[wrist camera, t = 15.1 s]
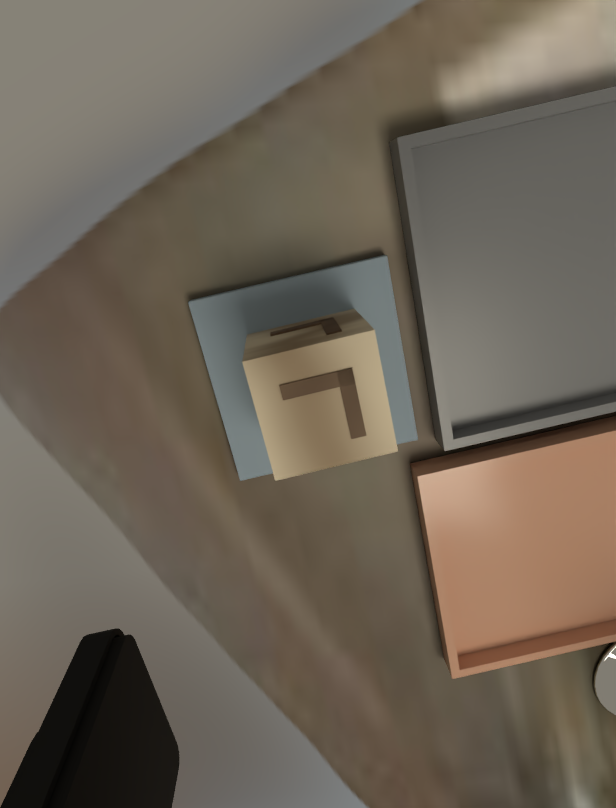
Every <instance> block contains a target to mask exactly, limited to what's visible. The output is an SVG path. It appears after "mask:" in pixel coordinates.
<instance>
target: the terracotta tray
mask: <svg viewBox="0 0 616 808" xmlns="http://www.w3.org/2000/svg"><path fill="white" fill-rule="evenodd" d="M410 467H411V473H412V479H413V484H414V490H415V496H416V502H417V507H418V513H419V519H420V524H421V530H422V536H423V541H424V547H425V553H426V558H427V564H428V570H429V575H430V581H431V587H432V592H433V598H434V604H435V609H436V615H437V621H438V627H439V632H440V638H441V644H442V649H443V655H444V660H445V662H446V665H447V667H448V670H449V672H450V675H451V677H452V679H454V678H459V677H463V676H467V675H472V674H476V673H480V672H485V671H489V670H493V669H498V668H502V667H506V666H511V665H515V664H519V663H524V662H528V661H532V660H537V659H541V658H546V657H550V656H554V655H559V654H563V653H567V652H572V651H576V650H580V649H585V648H589V647H593V646H598V645H602V644H606V643H611V642H615V641H616V416H613V417H608V418H604V419H600V420H595V421H591V422H587V423H583V424H578V425H574V426H570V427H565V428H561V429H557V430H552V431H548V432H544V433H539V434H535V435H531V436H527V437H522V438H518V439H514V440H509V441H505V442H501V443H496V444H492V445H488V446H483V447H479V448H475V449H471V450H466V451H462V452H458V453H453V454H449V455H445V456H440V457H436V458H432V459H427V460H423V461H419V462H415V463H410Z"/></svg>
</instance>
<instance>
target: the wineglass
mask: <svg viewBox="0 0 616 808" xmlns="http://www.w3.org/2000/svg"><path fill="white" fill-rule="evenodd" d="M594 689H595V694H596V696H597V698H598V700H599V702H600V703H601V704H602V706H603V707H604V708H605V709H606V710H608V711H609V712H611V713H612V714H614V715H616V641H615V642H614V643H613V644H612V645H611V646H610V647H609V648H608V650H607V651H606V652H605V653H604V654H603V656H602V658H601V659H600V661H599V663H598V665H597V668H596V671H595V674H594Z"/></svg>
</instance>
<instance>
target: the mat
mask: <svg viewBox="0 0 616 808" xmlns="http://www.w3.org/2000/svg"><path fill="white" fill-rule="evenodd" d="M188 303H189V307H190V310H191V314H192V317H193V321H194V324H195V327H196V331H197V334H198V338H199V341H200V344H201V348H202V351H203V355H204V358H205V362H206V365H207V368H208V372H209V375H210V379H211V382H212V386H213V389H214V392H215V396H216V399H217V403H218V406H219V409H220V413H221V416H222V420H223V423H224V427H225V430H226V433H227V437H228V440H229V444H230V447H231V451H232V454H233V457H234V461H235V464H236V468H237V471H238V474H239V478H240V481H242V480H246V479H250V478H254V477H259V476H263V475H267V474H272V473H273V470H272V467H271V463H270V460H269V456H268V453H267V449H266V445H265V442H264V438H263V435H262V431H261V427H260V424H259V420H258V417H257V413H256V410H255V406H254V402H253V399H252V395H251V392H250V388H249V384H248V381H247V377H246V374H245V370H244V367H243V363H242V360H243V354H244V349H245V343H246V337H247V334H251V333H256V332H260V331H264V330H268V329H272V328H276V327H280V326H284V325H289V324H293V323H297V322H301V321H305V320H309V319H313V318H317V317H321V316H326V315H330V314H334V313H338V312H342V311H346V310H350V309H355V310H356V311H357V312H358V313H359V314H360V315H361V316H362V317H363V318H364V319H365V320H366V321H367V322H368V323H369V324H370V325H371V326H372V327H373V329H374V330H375V334H376V339H377V344H378V350H379V355H380V360H381V365H382V370H383V376H384V381H385V386H386V391H387V396H388V402H389V407H390V412H391V417H392V422H393V428H394V433H395V438H396V443H397V444H401V443H405V442H409V441H414V440H418V437H417V431H416V425H415V419H414V413H413V407H412V401H411V395H410V389H409V383H408V377H407V371H406V365H405V359H404V354H403V348H402V342H401V336H400V330H399V324H398V318H397V312H396V306H395V300H394V294H393V288H392V282H391V276H390V270H389V264H388V258H387V255H381V256H377V257H373V258H368V259H364V260H360V261H356V262H351V263H347V264H343V265H339V266H334V267H330V268H326V269H321V270H317V271H313V272H309V273H304V274H300V275H296V276H291V277H287V278H283V279H279V280H274V281H270V282H266V283H262V284H257V285H253V286H249V287H244V288H240V289H236V290H232V291H227V292H223V293H219V294H215V295H210V296H206V297H202V298H197V299H193V300H190V301H189V302H188Z"/></svg>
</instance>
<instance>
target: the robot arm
mask: <svg viewBox="0 0 616 808" xmlns="http://www.w3.org/2000/svg"><path fill="white" fill-rule="evenodd" d="M178 770H179V751H178V745H177V742H176V740H175V737H174V735H173V732H172V730H171V727H170V725H169V722H168V720H167V718H166V715H165V713H164V710H163V708H162V705H161V703H160V700H159V698H158V696H157V693H156V690H155V688H154V686H153V683H152V681H151V678H150V676H149V673H148V671H147V668H146V666H145V664H144V661H143V658H142V656H141V654H140V651H139V649H138V646H137V644H136V641H135V639H134V638H133V636H132V635H124V634H123V632H122V631H121V630H120V629H112V630H107V631H103V632H98V633H93V634H89V635H86V636H84V637H83V639H82V640H81V642H80V644H79V646H78V648H77V650H76V652H75V655H74V657H73V659H72V661H71V663H70V665H69V667H68V669H67V672H66V674H65V676H64V678H63V680H62V682H61V684H60V687H59V689H58V691H57V693H56V695H55V698H54V699H53V702H52V704H51V706H50V708H49V710H48V713H47V714H46V717H45V719H44V721H43V723H42V725H41V727H40V730H39V732H38V733H37V734H36V735H35V737H34V738H33V740H32V742H31V744H30V746H29V748H28V750H27V752H26V754H25V756H24V758H23V761H22V763H21V765H20V767H19V769H18V771H17V774H16V775H15V778H14V780H13V782H12V784H11V786H10V788H9V790H8V792H7V795H6V797H5V799H4V801H3V803H2V805H1V807H0V808H172V802H173V797H174V791H175V786H176V781H177V775H178Z"/></svg>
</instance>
